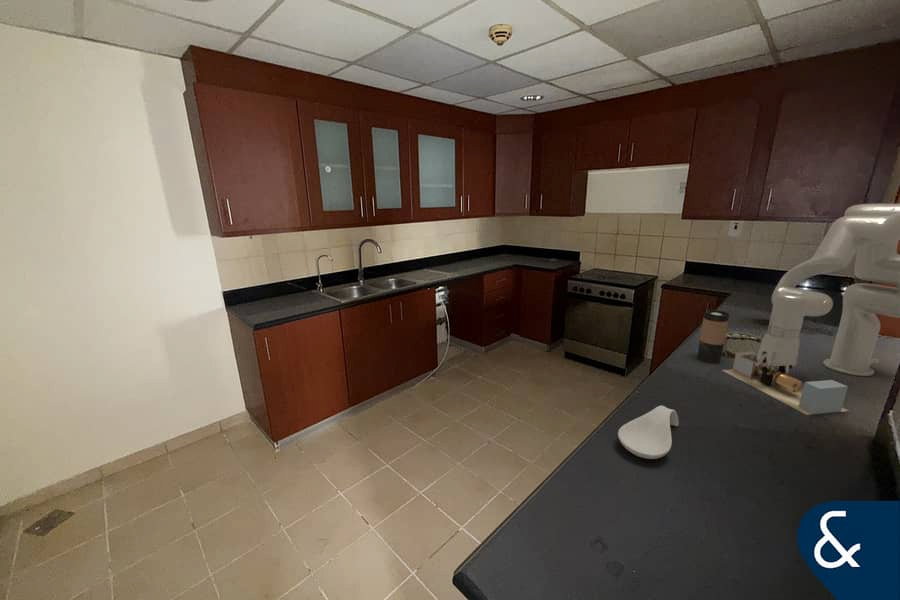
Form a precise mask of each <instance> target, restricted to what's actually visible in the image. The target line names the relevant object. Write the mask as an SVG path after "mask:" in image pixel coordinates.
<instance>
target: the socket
mask: <svg viewBox="0 0 900 600" xmlns="http://www.w3.org/2000/svg"><path fill="white" fill-rule="evenodd" d="M848 387H849V386H848V385H845V384H843V383H841V382H838V381H835V380H834V379H829V380H816V381H815V380H813V381H804V382H803V388H802V389H803V391H802V395H801V399H800V403H799V407H800V408H802V409H804V410H806V411H808V412H810V413H812V414H811V415H819V413H821V414H830V412H832V413H838V412H839V413H840V412H841V409H842V407H843V404H844V401H845V400H846V399H845V398H846V394H847V391H848Z"/></svg>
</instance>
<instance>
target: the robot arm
mask: <svg viewBox="0 0 900 600" xmlns="http://www.w3.org/2000/svg"><path fill="white" fill-rule="evenodd" d="M899 241H900V203H861V204H854V205H852V206H849V207H847V208H846V209H845V212H844V216H841V217H839V218H837V219H836V220H835V221H833V223H832V224H831V226H830V228H829V229H828V231H827V232H826V234H825V236H824V238H823V239H822V241H821V242H820V244H819V246H817V247H818V248H817V249H816V251H815V253H814V255H813V256H812V257H810V258H809V259H807V260H805V261H804V262H801V263H799V264H797V265H796V266H795V267H793V268H791V269H790V270H788V271H787V272H786V273H784V274H783V276H782V277H781V278H780V279H779V281H778V283H777V285H776V286H775V288H774V290H773V292H772V295H771V300H770V301H771V304H772V308H771V309H772V310H771V314H770V320H769V323H768V328H767V333H765V334H764V335H763V337H762V342H761V344H760V347H759V350H758V353H757V363H756V364H755V365H756V366H757V367H759V368H760V369H761V371H762V375H761V380H760V382H761V383H763V384H765V385H767V386H771V383H772V378H773V375H771V374H772V372H773V370H774V369H775V367H777V368H776V370H777V371H779V372H782V373H785V374H787V375H789V373H790V370H791V369H792V368H793V367H794V366H796V365H797V364H798V356H799V351H800V341H801V340H800V336H801V331H802V327H803V323H804V318H805V317H821V316H825V315H827V314H828V313H829V312H831V310H832V308H833V306H834V301H833V299H832V297H831V296H829V295H828V294H826V293H823V292H817V291H812V290H808V289H807V290H806V289H800V288H796V286H797V285H799V283H801V282H802V281H804V280H805V279H807V278H811V277H813V276H817V275H822V274H826V273H827V274H828V273H834V272H838V271H842V270H845V269H847V268H848V267H849V265H850V264H851V262H852V261H853V259H854V257H855V256H856V257H855V261H854V262H855V263H854V268H853V270H854V271H853V273H854V276H855V277H856V278H857V279H860V280H862V281H867V282H874V283H867V282H865V283H863V282H862V283H861V282H860V283H853V284H850V285H849V286H847V287H846V288H845V289H844V291H843V295H842V311H841V312H842V313H841V317H840V322H839V325H838V329H837V333H836V337H835V340H834V344H833V348H832V351H831V355H830V358H826V359H824V360H823V361H822V362H823V363H822V364H823V365H824V366H825V367H826V368H829V369H831V370H833V371H836V372H840V373H842V374H847V375H851V376H859V377H869V376H873V375H874V374H875V370H874V369H873V368H872V367H871V365H877V364H879V363H880V360H879V359H877V358H872V357H873V352H874V350H875V346H876V343H877V339H878V336H879V333H880V330H881V322H880V320H879V318H878V315H881V316H888V317H893V318H898V319H900V254H898V252H897V250H898V245H899ZM875 283H881V284H875ZM882 284H886V285H882ZM887 284H889V285H895V286H897V287H894V286H887ZM876 314H878V315H876ZM767 366H769V369H768V368H767Z"/></svg>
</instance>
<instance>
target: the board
mask: <svg viewBox="0 0 900 600" xmlns="http://www.w3.org/2000/svg"><path fill="white" fill-rule="evenodd" d="M722 372H724V373H726V374H728V375H730V376H732V377H734V378H736V379H738V380H739V381H742V382H744V383H746V384H747V385H749V386H751V387H752V388H755V389H757V390H758V391H760V392H763V393H765V394H766V395H769V396H770V397H772V398H774V399H776V400H778V401H779V402H781V403H784V404H785V405H787V406H789V407H791V408H793V409H795V410H797V411H798V412H801V413H802V414H803V415H807V416H808V415H813V414H812V413H810V412H808V411H806V410H804V409H802V408H800V407H799V403H800V399H801V395H802V391H803V388H802V389H801V390H800V391H799V392H796V393H795V392H792V391H790V390H788V389H786V388H784V387H782V386H779V385H777V384H775V383H774V382H772V383H771V386H767V385H765V384H763V383H761V382H760V380H761V379H754V380H750V379H748V378H746V377H744V376H742V375H740V374H738V373H736V372H734V371H733V368H732V369H722ZM841 412H842V413H843V412H850V410H849V409H848V408H845V407H843V406H842V409H841ZM830 413H831V414H832V413H833V412H830ZM830 413H829V414H830ZM819 414H822V413H819ZM819 414H818V415H819Z"/></svg>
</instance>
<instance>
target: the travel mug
mask: <svg viewBox="0 0 900 600" xmlns="http://www.w3.org/2000/svg"><path fill="white" fill-rule="evenodd" d="M729 317H730V314H729V312H726V311H723V310H722V311H721V310H716V309H715V310H714V309H708V310H706V311H704V313H703V319H702V324H701V328H700V329H701V330H700V331H701V332H700V336H699V343H698V351H697V359H698V360H699V361H701V362H702V363H707V364H716V365H717V364H720V363H721V359H722V355H723V350H724V348H725V347H724V346H725V343H726V339H725V336H726V333H727V329H728V325H729V324H728V323H729Z"/></svg>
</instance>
